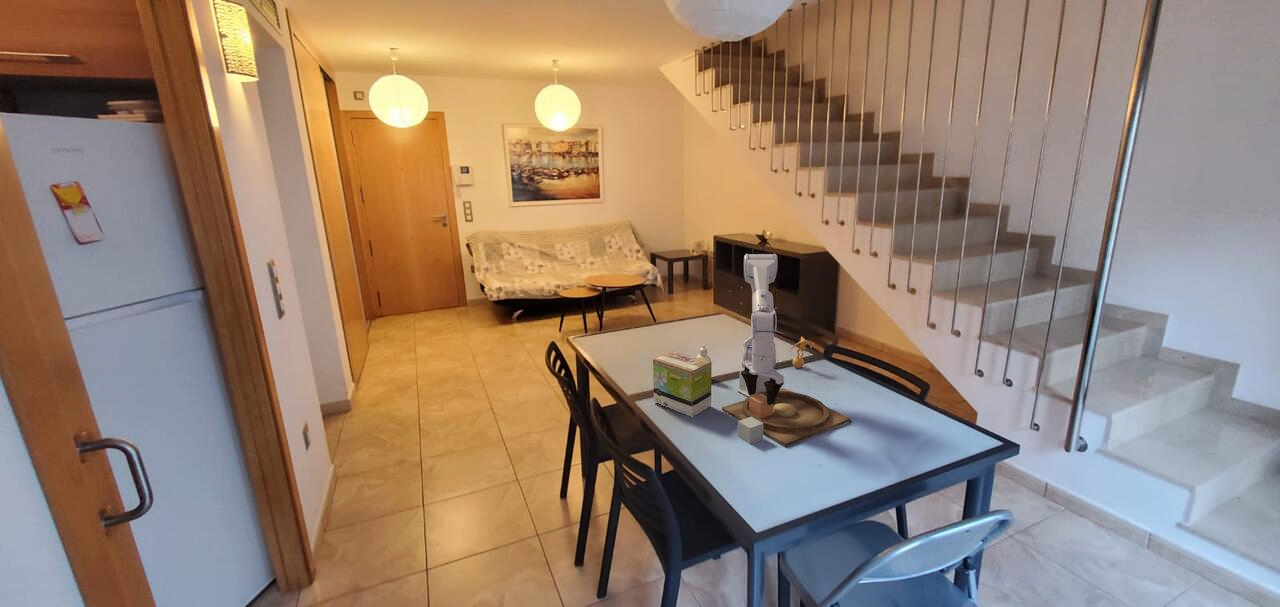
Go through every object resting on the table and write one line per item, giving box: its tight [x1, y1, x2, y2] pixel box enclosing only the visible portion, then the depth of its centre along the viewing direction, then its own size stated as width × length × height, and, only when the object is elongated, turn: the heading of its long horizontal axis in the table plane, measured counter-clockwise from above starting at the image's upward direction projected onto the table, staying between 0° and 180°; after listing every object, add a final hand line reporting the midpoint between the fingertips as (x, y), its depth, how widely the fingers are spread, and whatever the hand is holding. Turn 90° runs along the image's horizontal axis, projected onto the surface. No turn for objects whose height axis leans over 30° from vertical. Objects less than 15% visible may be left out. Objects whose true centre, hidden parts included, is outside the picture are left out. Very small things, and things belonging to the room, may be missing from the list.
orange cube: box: [749, 394, 773, 419], centre depth 145 cm, size 5×5×5 cm
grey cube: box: [737, 417, 764, 445], centre depth 134 cm, size 5×5×5 cm
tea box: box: [652, 350, 713, 418], centre depth 153 cm, size 15×10×15 cm
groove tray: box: [721, 387, 852, 448], centre depth 146 cm, size 25×25×2 cm
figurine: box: [789, 336, 813, 369], centre depth 179 cm, size 8×6×12 cm
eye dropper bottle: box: [696, 344, 712, 362], centre depth 173 cm, size 4×6×12 cm
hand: (761, 398), depth 145 cm, fingers open, 7 cm apart
